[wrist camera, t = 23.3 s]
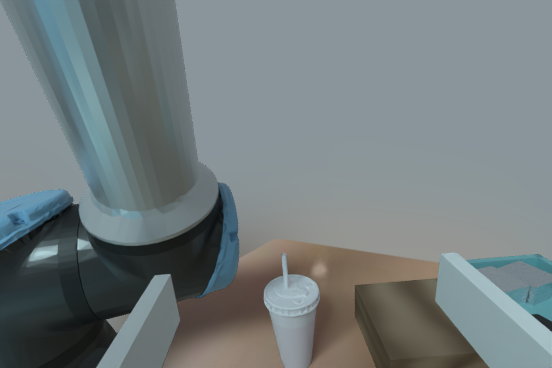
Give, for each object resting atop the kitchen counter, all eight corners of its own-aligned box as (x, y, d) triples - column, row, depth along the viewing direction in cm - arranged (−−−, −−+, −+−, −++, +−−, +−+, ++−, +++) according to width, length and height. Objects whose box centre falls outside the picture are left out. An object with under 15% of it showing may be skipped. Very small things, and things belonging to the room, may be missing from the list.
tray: (531, 395, 28) (543, 337, 27) (448, 303, 41) (452, 261, 40) (650, 385, 28) (671, 327, 27) (530, 296, 42) (538, 254, 40)
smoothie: (285, 331, 39) (277, 238, 35) (330, 347, 36) (326, 247, 32) (260, 369, 34) (247, 264, 30) (310, 391, 30) (303, 278, 27)
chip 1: (499, 311, 33) (504, 292, 32) (463, 288, 37) (466, 271, 36) (524, 303, 34) (530, 285, 34) (487, 282, 38) (491, 265, 38)
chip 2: (532, 306, 34) (535, 288, 33) (493, 285, 38) (495, 268, 37) (556, 295, 35) (560, 278, 34) (516, 276, 39) (519, 260, 39)
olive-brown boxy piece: (389, 398, 29) (390, 360, 28) (355, 315, 41) (354, 285, 39) (524, 387, 29) (532, 348, 28) (452, 307, 41) (455, 277, 39)
